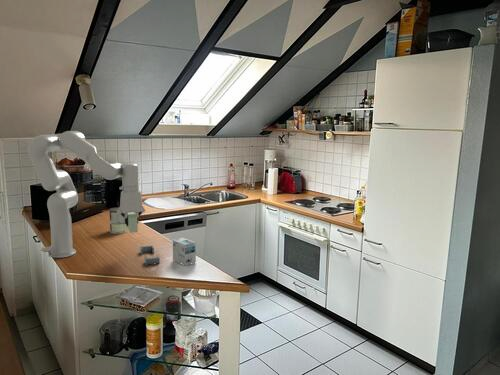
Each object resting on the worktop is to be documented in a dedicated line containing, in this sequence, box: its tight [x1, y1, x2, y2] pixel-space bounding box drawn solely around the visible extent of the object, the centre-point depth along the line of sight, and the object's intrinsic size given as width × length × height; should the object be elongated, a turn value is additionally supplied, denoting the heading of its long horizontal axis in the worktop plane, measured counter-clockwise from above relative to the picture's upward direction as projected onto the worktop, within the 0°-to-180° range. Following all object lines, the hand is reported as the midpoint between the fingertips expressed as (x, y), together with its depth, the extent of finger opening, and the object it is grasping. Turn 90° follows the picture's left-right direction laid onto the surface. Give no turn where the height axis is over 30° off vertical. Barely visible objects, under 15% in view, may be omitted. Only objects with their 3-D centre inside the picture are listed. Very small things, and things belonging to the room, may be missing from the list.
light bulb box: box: [172, 237, 197, 266], centre depth 189 cm, size 11×7×11 cm, turn 46°
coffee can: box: [108, 206, 128, 235], centre depth 236 cm, size 10×10×14 cm
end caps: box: [139, 245, 160, 265], centre depth 193 cm, size 6×20×3 cm, turn 24°
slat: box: [127, 212, 139, 234], centre depth 191 cm, size 4×16×7 cm, turn 24°
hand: (131, 224), depth 191 cm, fingers closed on slat, 3 cm apart
